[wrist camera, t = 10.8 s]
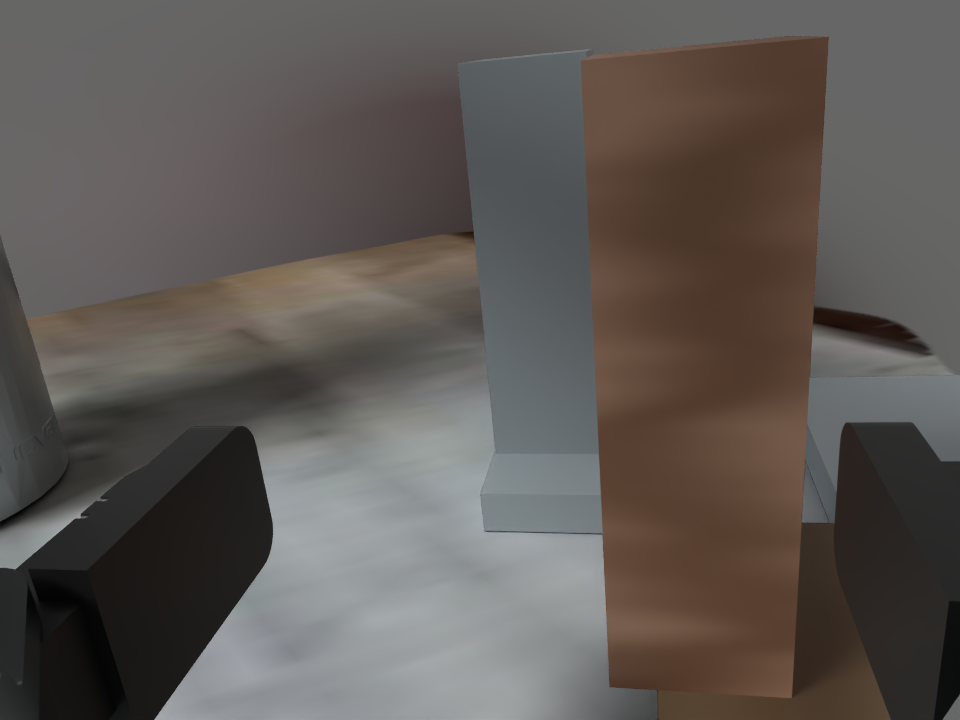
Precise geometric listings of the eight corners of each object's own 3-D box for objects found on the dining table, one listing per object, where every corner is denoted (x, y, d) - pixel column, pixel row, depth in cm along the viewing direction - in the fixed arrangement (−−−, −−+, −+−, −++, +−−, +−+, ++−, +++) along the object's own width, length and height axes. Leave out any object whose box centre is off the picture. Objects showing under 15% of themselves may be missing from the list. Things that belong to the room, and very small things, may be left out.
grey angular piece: (484, 530, 25) (434, 67, 20) (522, 411, 32) (492, 57, 28) (1166, 546, 21) (1305, -18, 16) (1024, 407, 29) (1089, -2, 24)
